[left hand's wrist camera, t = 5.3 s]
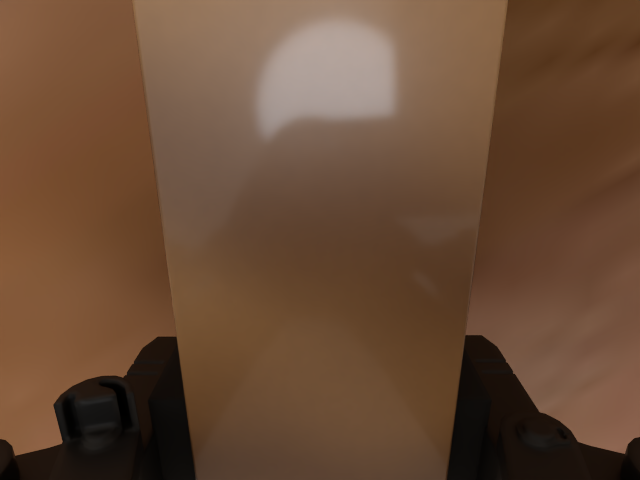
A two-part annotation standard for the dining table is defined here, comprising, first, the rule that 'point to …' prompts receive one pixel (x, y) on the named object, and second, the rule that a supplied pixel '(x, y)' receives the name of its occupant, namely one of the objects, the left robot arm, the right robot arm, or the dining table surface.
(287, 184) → the bar
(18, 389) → the dining table surface
